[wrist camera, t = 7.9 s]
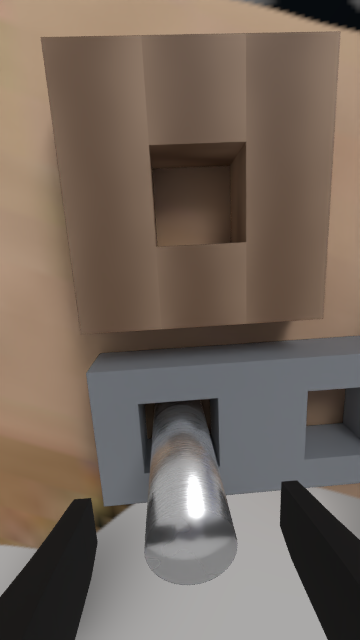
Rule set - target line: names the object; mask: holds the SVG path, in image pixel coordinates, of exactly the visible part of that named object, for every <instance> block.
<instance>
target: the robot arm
mask: <svg viewBox="0 0 360 640" xmlns="http://www.w3.org/2000/svg"><path fill="white" fill-rule="evenodd" d="M280 527H281V530H282V533H283V536H284V539H285V542H286V545H287V547H288V551H289V553H290V556H291V559H292V561H293V563H294V566H295V568H296V570H297V572H298V575H299V577H300V579H301V581H302V584H303V586H304V588H305V590H306V593H307V594H308V597H309V599H310V601H311V604H312V606H313V608H314V610H315V612H316V614H317V617H318V619H319V621H320V623H321V626H322V628H323V630H324V632H325V634H326V637H327V639H328V640H360V540H359V539H358V538H357V537H356V536H355V535H354V534H353V533H352V532H351V531H349V530H348V529H347V528H346V527H345V526H344V525H343V524H342V523H341V522H340V521H338V520H337V519H336V518H335V517H334V516H333V515H332V514H331V513H330V512H329V511H328V510H327V509H326V508H325V507H324V506H323V505H322V504H321V503H320V502H319V501H318V500H317V499H316V498H315V497H314V496H313V495H312V494H311V493H310V492H309V491H308V490H307V489H306V488H305V487H304V486H303V485H302V484H301V483H299V482H298V481H297V480H295V481H283V482H281V510H280ZM96 548H97V536H96V529H95V522H94V515H93V509H92V502H91V498H86V499H75V500H74V501H73V502H72V503H71V504H70V506H69V507H68V508H67V510H66V511H65V513H64V514H63V516H62V517H61V518H60V520H59V521H58V523H57V524H56V525H55V527H54V528H53V530H52V531H51V532H50V534H49V535H48V537H47V538H46V539H45V541H44V542H43V543H42V545H41V546H40V547H39V549H38V550H37V552H36V553H35V554H34V555H33V557H32V558H31V559H30V561H29V562H28V563H27V564H26V566H25V567H24V568H23V570H22V571H21V572H20V573H19V575H18V576H17V577H16V578H15V579H14V581H13V582H12V583H11V584H10V586H9V587H8V588H7V589H6V591H5V592H4V593H3V594H2V595H1V597H0V640H75V637H76V634H77V630H78V626H79V622H80V618H81V615H82V611H83V608H84V604H85V599H86V596H87V593H88V589H89V585H90V581H91V577H92V571H93V566H94V560H95V554H96Z"/></svg>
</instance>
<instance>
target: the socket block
mask: <svg viewBox="0 0 360 640" xmlns="http://www.w3.org/2000/svg"><path fill="white" fill-rule="evenodd" d="M41 43H42V50H43V58H44V65H45V73H46V80H47V87H48V95H49V102H50V110H51V117H52V124H53V132H54V139H55V147H56V154H57V161H58V169H59V176H60V183H61V191H62V198H63V206H64V213H65V220H66V228H67V235H68V243H69V250H70V257H71V265H72V272H73V279H74V287H75V294H76V302H77V309H78V316H79V324H80V331H81V334H97V333H112V332H128V331H143V330H158V329H174V328H189V327H205V326H220V325H235V324H251V323H266V322H282V321H297V320H313V319H323V313H324V297H325V280H326V263H327V247H328V230H329V214H330V197H331V180H332V164H333V147H334V131H335V114H336V97H337V81H338V64H339V48H340V31H336V32H285V33H234V34H183V35H132V36H81V37H41ZM226 165H230V204H231V243H222V244H203V245H184V246H164V247H157V233H156V219H155V204H154V190H153V175H152V168H176V167H201V166H226Z"/></svg>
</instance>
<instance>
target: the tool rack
mask: <svg viewBox="0 0 360 640" xmlns="http://www.w3.org/2000/svg"><path fill="white" fill-rule="evenodd" d="M86 375H87V383H88V390H89V398H90V405H91V412H92V420H93V427H94V435H95V442H96V449H97V457H98V464H99V471H100V479H101V486H102V494H103V501H104V506H113V505H124V504H135V503H146V502H148V491H149V476H150V462H151V448H152V439H148V437H147V426H146V414H145V404H147V403H160V402H173V401H186V400H199V399H210V416H211V434H210V438H211V442H212V445H213V449H214V453H215V457H216V461H217V465H218V468H219V472H220V476H221V480H222V484H223V488H224V491H225V495H233V494H244V493H254V492H266V491H276V490H281V482H283V481H295V480H297V481H298V482H299V483H301V484H302V485H303V486H304V487H305V488H310V487H321V486H332V485H343V484H354V483H360V336H348V337H333V338H319V339H304V340H289V341H275V342H260V343H245V344H230V345H216V346H201V347H186V348H172V349H157V350H142V351H127V352H113V353H100V354H99V356H98V357H97V358H96V360H95V361H94V363H93V364H92V366H91V367H90V368H89V370H88V371H87V373H86ZM344 388H346V391H345V403H344V415H343V423H337V424H325V425H312V426H306V417H307V398H308V391H317V390H330V389H344Z"/></svg>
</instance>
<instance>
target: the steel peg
mask: <svg viewBox="0 0 360 640" xmlns="http://www.w3.org/2000/svg"><path fill="white" fill-rule="evenodd" d="M236 551H237V538H236V534H235V530H234V526H233V522H232V518H231V515H230V511H229V507H228V503H227V499H226V495H225V491H224V488H223V484H222V480H221V476H220V472H219V468H218V465H217V461H216V457H215V453H214V449H213V445H212V442H211V438H210V434H209V430H208V426H207V422H206V419H205V415H204V411H203V407H202V403H201V399H199V400H186V401H173V402H160V403H155V405H154V419H153V433H152V448H151V462H150V476H149V491H148V505H147V519H146V534H145V551H144V553H145V558H146V561H147V564H148V565H149V567H150V568H151V570H152V571H153V572H154V573H155V574H156V575H157V576H159V577H160V578H162V579H164V580H166V581H168V582H171V583H174V584H180V585H195V584H200V583H204V582H207V581H210V580H212V579H214V578H216V577H217V576H219V575H220V574H222V573H223V572H224V571H225V570H226V569H227V568H228V567H229V566H230V564H231V563H232V561H233V560H234V558H235V555H236Z"/></svg>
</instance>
